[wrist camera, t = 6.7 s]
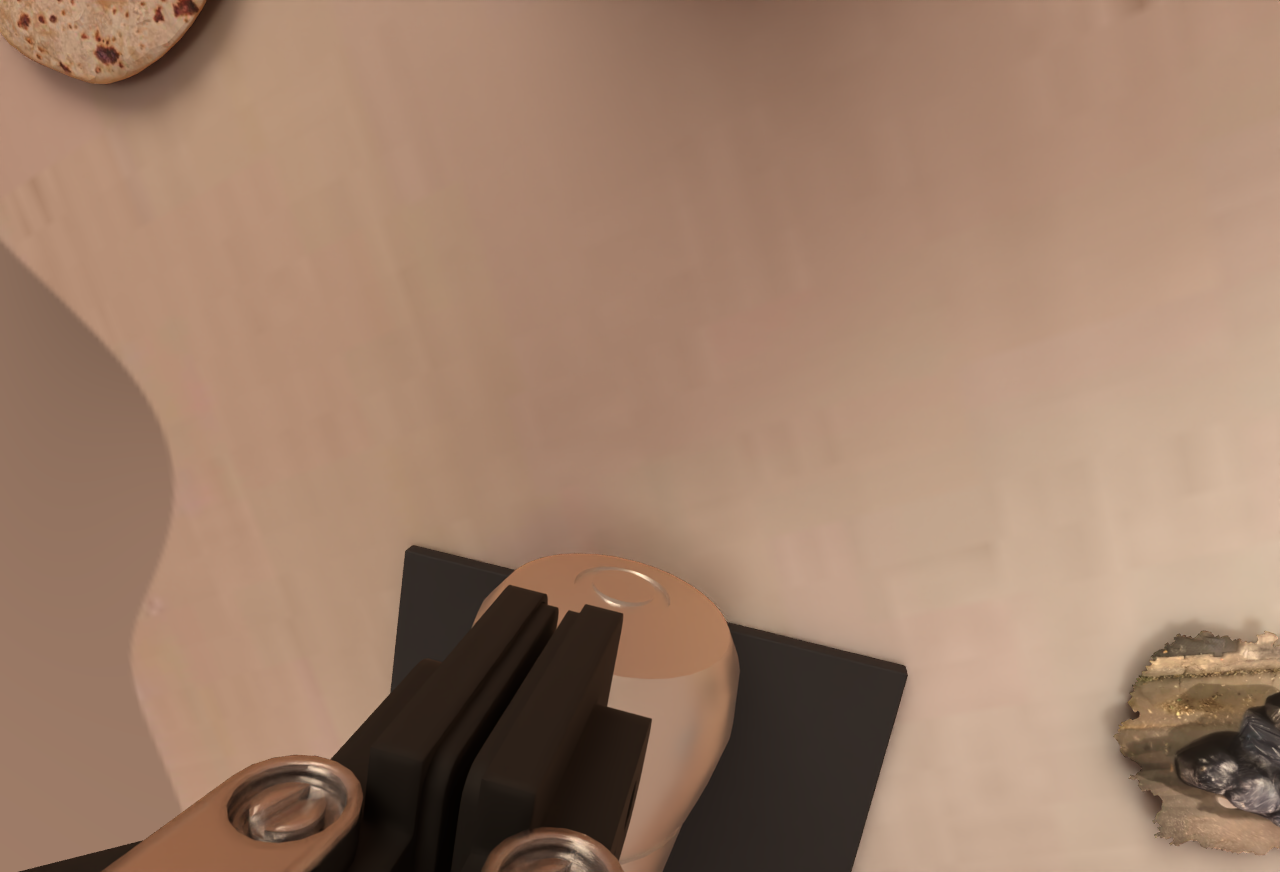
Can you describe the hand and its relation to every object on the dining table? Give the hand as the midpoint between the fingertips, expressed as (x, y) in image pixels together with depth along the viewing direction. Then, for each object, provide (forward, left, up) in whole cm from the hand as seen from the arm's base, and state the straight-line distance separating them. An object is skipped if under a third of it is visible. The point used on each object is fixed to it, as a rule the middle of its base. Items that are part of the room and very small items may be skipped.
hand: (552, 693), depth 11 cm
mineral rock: (+2, +16, -11) cm, 20 cm away
